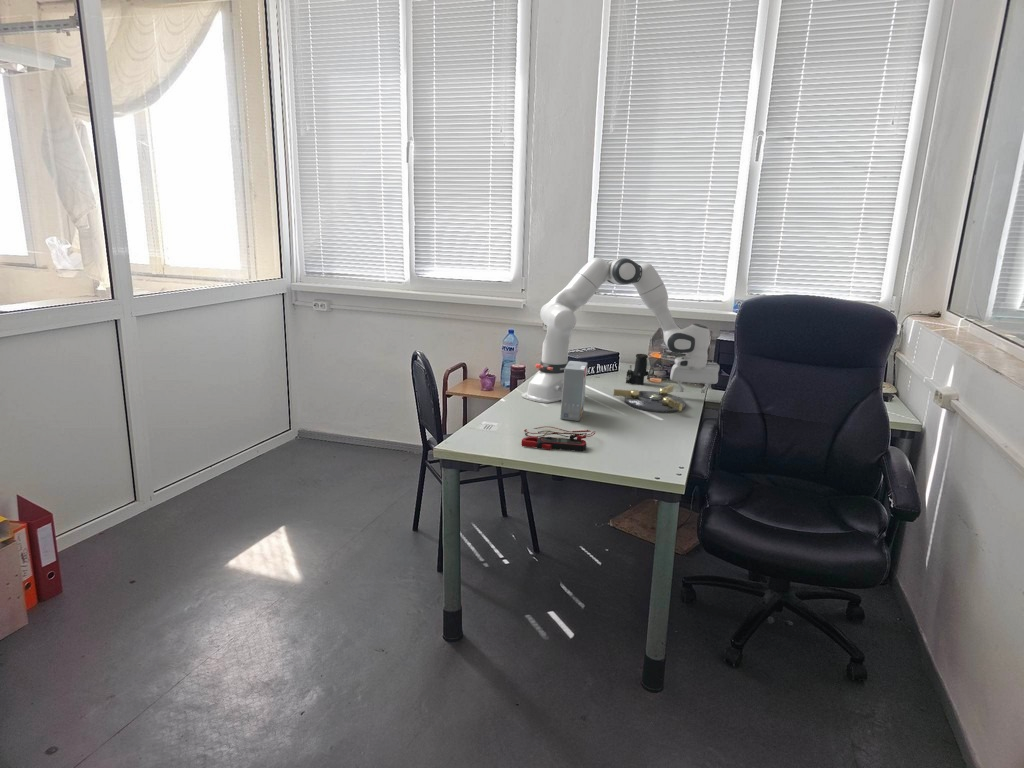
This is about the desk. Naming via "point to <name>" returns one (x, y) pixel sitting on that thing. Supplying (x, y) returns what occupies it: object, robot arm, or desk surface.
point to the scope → (638, 370)
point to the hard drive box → (573, 390)
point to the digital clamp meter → (557, 441)
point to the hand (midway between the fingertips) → (692, 392)
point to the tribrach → (653, 402)
